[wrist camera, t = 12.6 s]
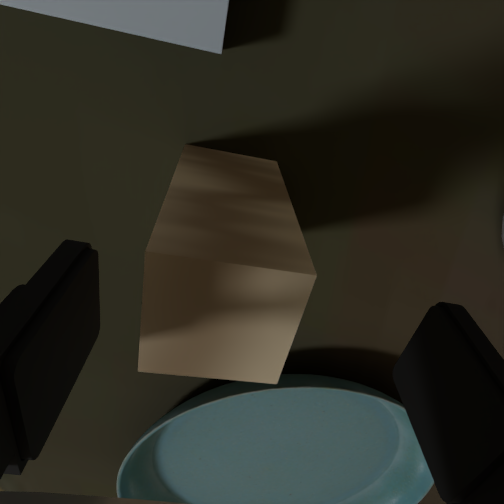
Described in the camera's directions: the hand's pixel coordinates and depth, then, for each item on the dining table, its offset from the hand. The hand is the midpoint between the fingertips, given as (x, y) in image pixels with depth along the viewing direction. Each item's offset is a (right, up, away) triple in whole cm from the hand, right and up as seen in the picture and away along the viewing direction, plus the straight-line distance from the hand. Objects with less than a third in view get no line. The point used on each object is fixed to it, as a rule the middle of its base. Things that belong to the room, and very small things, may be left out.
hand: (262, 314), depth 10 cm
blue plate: (+2, -15, +20) cm, 25 cm away
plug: (-2, +4, +7) cm, 9 cm away
